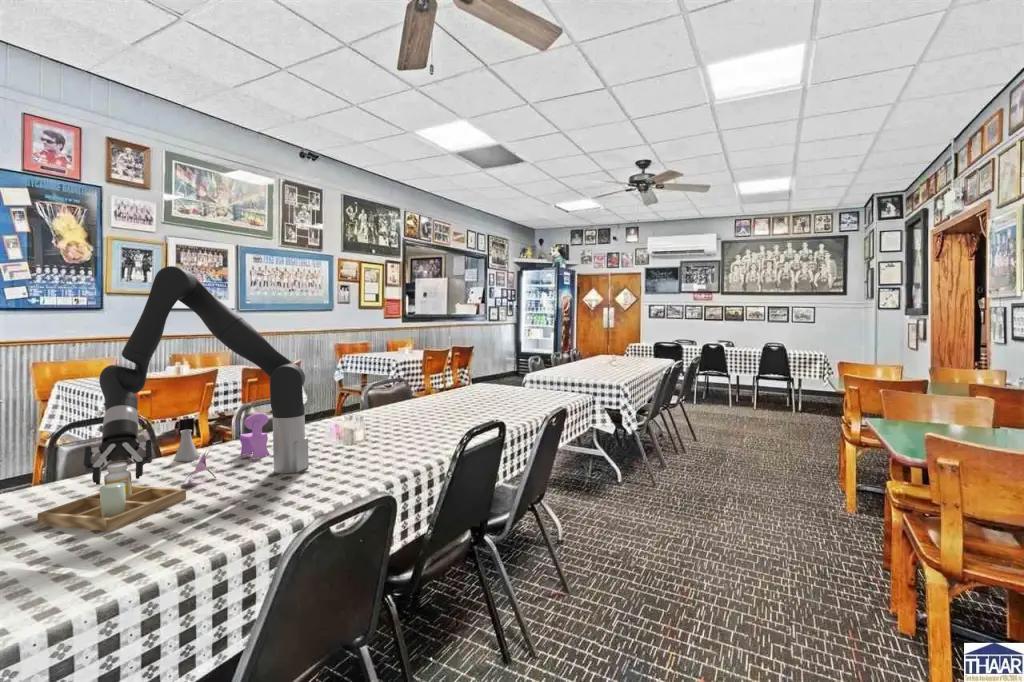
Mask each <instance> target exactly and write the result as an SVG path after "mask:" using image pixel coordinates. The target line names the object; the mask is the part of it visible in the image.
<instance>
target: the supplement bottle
mask: <svg viewBox="0 0 1024 682" xmlns="http://www.w3.org/2000/svg"><path fill="white" fill-rule="evenodd" d="M127 469H128V463H127V462H123V461H122V462H116V463H111V464H107V465H106V471H107V472H108V473H107V474H105V476H104V477H103V478H104V479H103V481H104V485H108V484H113V483H125V495H126V496H129V495H131V494H132V486H133V485H132V484H133V483H132V482H133V481H132V472H130V471H129V470H127Z"/></svg>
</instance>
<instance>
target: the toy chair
mask: <svg viewBox="0 0 1024 682" xmlns="http://www.w3.org/2000/svg"><path fill="white" fill-rule="evenodd" d="M268 422H269V416H268V414H265V413H262V412H258V413H253V414H251V415H249V416H248V417H246V418H245V419H244V421H243V424H244V425H245V427H246V428H247V429H249V430H250V431H252V432H249V433H242V434H239V442H240V444H241V450H240V454H239V455H241V456H244V455H243V454H246V455H248V454H247V453H251V455H252V456H251V460H254V459H253V458H256V459H258V458H257V457H260V458H263V457H262V456H264V457H267V456H266V455H269V456H271V454H270V452H269V450H268V448H267V443H268V440H269V437H268V433H266V432H263V427H264V426H265V425H267V423H268ZM252 452H253V453H252Z"/></svg>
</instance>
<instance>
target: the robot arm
mask: <svg viewBox="0 0 1024 682" xmlns="http://www.w3.org/2000/svg"><path fill="white" fill-rule="evenodd" d="M178 301H179V302H180V303H181V304H183V305H185V306H186V307H187V308H189V309H190V310H191V311H193V312H194V313H195V314H196V315H197V317H198V318H200V319H201V321H202V322H203V324H204V325H205V327H206V328H207V329H208V331H209V332H210V333H211V334H212V335H213V336H214V337H215V338H216V339H217V340H219V342H221V343H222V344H223V345H224V346H226V347H227V348H228V349H229V350H230V351H232V352H233V353H235V354H237V355H238V356H240V357H241V358H243V359H245V360H247V361H249V362H250V363H252V364H254V365H255V366H257V367H258V368H260V369H261V370H262V371H263V372H264V373H265V374H266V375H267V376H268V377H269V396H270V397H269V398H270V399H269V400H270V407H271V408H270V409H271V413H272V442H273V443H272V445H273V446H272V447H273V448H272V451H273V472H274V473H276V474H292V473H293V474H294V473H296V474H297V473H300V472H301V471H303V470H305V469H308V468H309V438H308V437H306V421H305V419H306V418H305V416H306V414H305V404H304V397H303V396H304V395H303V386H304V384H305V382H306V375H305V372H304V370H303V369H302V368H301V367H300V366H299V365H297V364H296V363H294V362H293V361H292V360H291V359H289V358H288V357H286V356H284V354H282V353H280V352H279V351H278V350H276V348H275V347H273V345H272V344H270V343H269V342H268V341H267V340H266V338H264V337H263V335H261V333H259V331H257V330H256V329H255V328H254V327H253V326H252V325H251V324H250V323H249V322H248V321H246V320H245V319H244V318H243V317H242V316H240V315H239V314H238V313H237V312H235V311H234V310H233V309H232V308H230V307H229V306H228V305H226V304H225V303H224V302H222V301H221V300H219V299H218V298H217V297H216V296H215V295H214V294H213V293H212V292H210V291H209V289H207V287H206V286H205V285H204V284H203V283H202V282H201V281H200V280H199V278H198V277H196V275H195V274H193V273H192V272H191V271H190V270H188V269H185V268H182V267H180V266H176V265H175V266H172V265H169V266H165V267H162V268H161V269H159V270H158V271H157V273H156V274H155V277H154V279H153V282H152V285H151V288H150V291H149V294H148V297H147V300H146V303H145V305H144V308H143V310H142V313H141V315H140V317H139V319H138V322H137V323H136V325H135V327H134V329H133V331H132V332H131V334H130V337H128V340H127V342H126V343H125V346H124V347H123V349H122V351H121V357H123V358H124V359H126V360H127V361H129V362H131V363H133V364H135V367H134V368H130V367H127V366H123V365H117V364H111V365H107V366H106V367H104V368H103V369H102V370H101V372H100V374H99V379H98V380H99V386H100V390H101V392H102V394H103V397H104V401H105V410H104V411H105V412H104V417H103V423H102V433H101V434H102V436H101V444H100V445H99V446H97V447H96V446H95V447H92V446H90V445H87V446H85V448H84V459H83V467H84V470H85V472H92V478H91V480H92V482H93V484H95V485H96V486H97V485H101V478H102V469H104V467H105V466H106V467H107V466H108V465H109V463H110V462H117V461H127V460H128V459H129V460H130V461H132V463H134V464H135V479H136V480H139V479H140V478H141V477H143V475H144V465H146V464H151V463H152V462H153V461H152V460H153V442H152V439H150V438H149V439H147V440H146V441H139V424H140V423H139V414H138V404H139V401H138V400H139V399H138V397H137V395H136V394H137V393H139V392H140V391H142V390H143V389H144V387H145V385H146V382H147V377H148V376H147V375H148V370H149V367H150V366H149V365H150V363H151V359H152V358H153V355H154V353H155V352H156V350H157V348H158V346H159V345H160V342H161V340H162V337H163V333H164V332H165V331H164V330H165V326H166V323H167V320H168V317H169V314H170V312H171V310H172V309H173V307H174V306H175V304H176V303H177V302H178ZM140 448H141V449H142V450H143V451H145V456H143V457H142V456H140V454H138V452H137V451H138V450H139V449H140ZM97 453H100V456H99V457H98V459H97V461H95V462H94V463H93V458H94V457H95V456H96V455H97Z"/></svg>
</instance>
